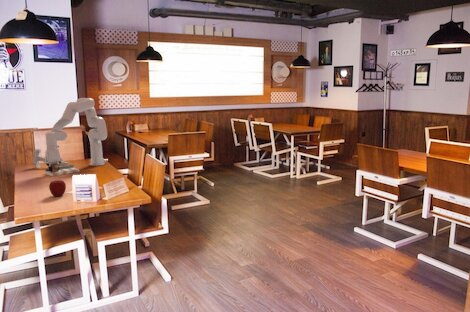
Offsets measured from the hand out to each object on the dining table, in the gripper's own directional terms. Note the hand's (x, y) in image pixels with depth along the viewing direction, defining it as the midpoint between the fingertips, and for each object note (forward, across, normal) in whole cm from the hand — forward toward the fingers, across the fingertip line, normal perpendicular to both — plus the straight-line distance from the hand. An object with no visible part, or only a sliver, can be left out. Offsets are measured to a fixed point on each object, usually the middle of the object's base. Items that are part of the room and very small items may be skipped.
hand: (54, 170), depth 306 cm
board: (+3, -6, +1) cm, 7 cm away
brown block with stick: (+1, 0, +3) cm, 3 cm away
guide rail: (+1, -6, -4) cm, 7 cm away
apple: (+3, +24, +68) cm, 72 cm away
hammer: (+3, -8, -27) cm, 29 cm away
